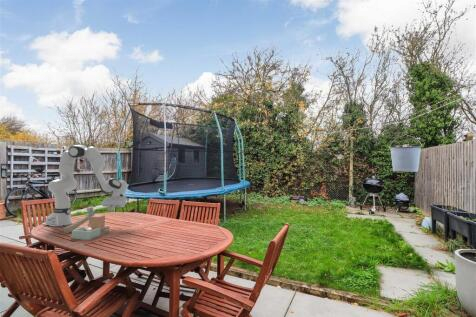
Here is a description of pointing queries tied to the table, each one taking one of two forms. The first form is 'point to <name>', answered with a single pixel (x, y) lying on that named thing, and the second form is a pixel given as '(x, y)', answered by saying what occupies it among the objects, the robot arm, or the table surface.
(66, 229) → the hammer
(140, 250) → the table surface
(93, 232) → the box
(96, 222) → the block
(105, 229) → the board
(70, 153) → the robot arm
